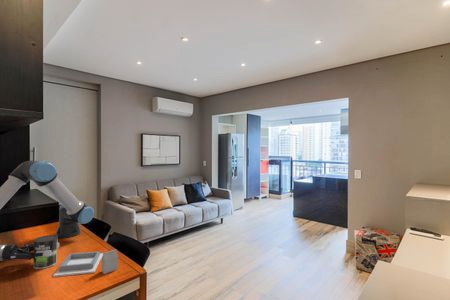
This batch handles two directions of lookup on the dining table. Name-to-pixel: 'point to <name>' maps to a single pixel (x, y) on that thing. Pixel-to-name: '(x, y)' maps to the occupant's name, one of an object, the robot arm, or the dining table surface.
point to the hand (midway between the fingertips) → (55, 248)
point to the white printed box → (109, 261)
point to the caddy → (79, 264)
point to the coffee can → (45, 245)
